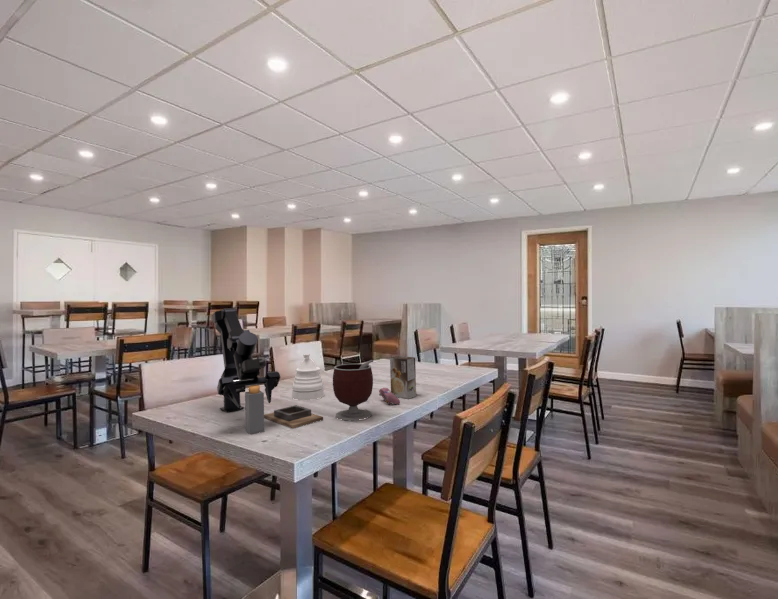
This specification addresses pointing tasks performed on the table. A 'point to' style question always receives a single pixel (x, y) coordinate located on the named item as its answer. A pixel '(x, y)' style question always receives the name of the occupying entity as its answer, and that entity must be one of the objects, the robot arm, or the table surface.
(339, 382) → the mate gourd
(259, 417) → the connector plug
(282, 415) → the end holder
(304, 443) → the table surface
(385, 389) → the pink oblong lump
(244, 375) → the robot arm
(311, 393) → the honey pot
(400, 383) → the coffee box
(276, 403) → the table surface
